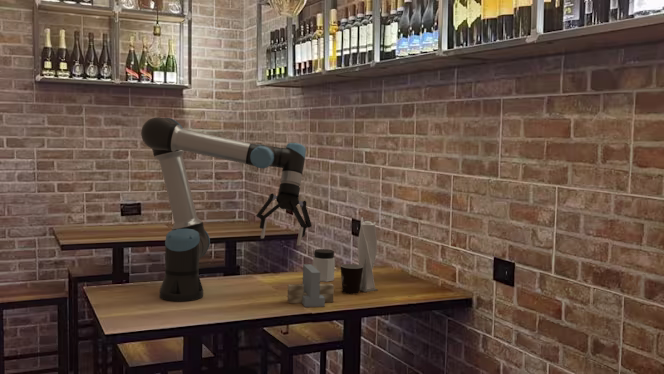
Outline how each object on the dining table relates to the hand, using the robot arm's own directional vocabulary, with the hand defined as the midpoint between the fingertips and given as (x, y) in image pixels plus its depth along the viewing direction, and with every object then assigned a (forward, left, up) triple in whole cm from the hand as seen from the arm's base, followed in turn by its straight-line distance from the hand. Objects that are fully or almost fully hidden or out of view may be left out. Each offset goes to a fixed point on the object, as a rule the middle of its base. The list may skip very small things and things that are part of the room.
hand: (280, 241), depth 230 cm
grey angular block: (+10, +7, -20) cm, 24 cm away
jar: (-15, +33, -21) cm, 42 cm away
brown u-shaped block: (+10, +7, -20) cm, 24 cm away
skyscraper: (+6, +37, -21) cm, 43 cm away
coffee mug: (+6, +30, -21) cm, 37 cm away
